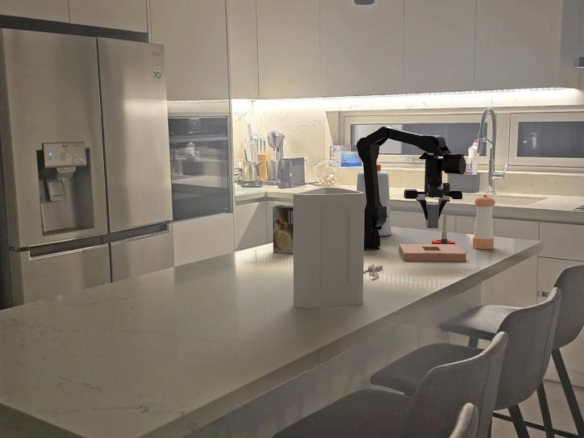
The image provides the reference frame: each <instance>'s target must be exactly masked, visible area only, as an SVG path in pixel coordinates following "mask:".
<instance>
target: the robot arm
mask: <svg viewBox="0 0 584 438" xmlns="http://www.w3.org/2000/svg"><path fill="white" fill-rule="evenodd" d="M388 140H392V141H396V142H399V143H403V144H408V145H411V146H415V147H417V148H418V149H420V150H421V151H424V152H422V155H420V156H419V157H418V159H419V160H424V183H423V184H424V187H423V190H424V191H420V190H419V191H418V190H417V189H416V188H405V189H404V191H403V198H404V199H405V200H415V201H416V202H419V205H420V207H421V210H422V212H423V216H424V220H425V221H426V220H427V207H426V203H427V199H426V197H427V198H430V199H433V198H438V200H437V201H438V202H437V203H438V204H439V219H438V221H439V220H440V217H441V215H442V212H443V211H444V210H443V209H444V208H445V206H446V204H447V203H449V202H451V200H450V198H451V199H452V200H463V198H464V197H463V195H464V194H463V192H462V190H460V189H456V188H453V189H452V188H451V184H450V182H443V173H444V174H446V175H454V176H455V175H456V176H457V175H460V176H463V175H465V173H466V171H467V161H466V158H465V154H464V153H452V152H451V150H450V149H449V147H448V145H447V142H446V140H445V137H444V136H443V135H439V134H420V133H415V132H411V131H407V130H403V129H398V128H395V127H392V126H390V125H389V126H380V127H379V128H377V130H375V131H373V132H372V133H370V134H368V135H366V136H364V137H360V138H359V139H358V140H357V141H356V150H357V155H358V157H359V159H360V161H361V163H362V167H363V168H362V169H363V170H362V171H364V181H365V192H366V206H365V209H364V250H380V247H381V236H380V234H379V231H378V230H381V229H382V226H383V225H384V224H385V222H386V218H387V217H388V216H387V207H386V206H384V207H383V206H382V204H381V203H380V196H379V185H378V174H377V164H378V163H377V161H378V158H379V155H380V147H381V146H383V145H384V144H385V143H386V142H387V141H388Z"/></svg>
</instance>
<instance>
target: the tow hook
mask: <svg viewBox="0 0 584 438" xmlns="http://www.w3.org/2000/svg"><path fill="white" fill-rule="evenodd" d="M442 218H443V219H442V232H441V238H440V239H432V240H431V244H456V241H454V240H452V239H451V240H450V239H448V238H447V235H448V231H447V220H448V219H447V218H448V217H447V210H443V217H442Z"/></svg>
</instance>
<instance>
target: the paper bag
mask: <svg viewBox="0 0 584 438" xmlns="http://www.w3.org/2000/svg"><path fill="white" fill-rule="evenodd" d="M292 197H293V199H292V200H293V203H292V206H293V255H292V256H293V257H292V259H293V263H292V264H293V266H292V267H293V269H292V271H293V272H292V273H293V276H292V277H293V280H292V282H293V283H292V284H293V288H292V289H293V292H292V293H293V298H292V300H293V307H297V308H303V309H304V308H305V309H318V308H319V309H320V308H331V307H332V308H334V307H335V308H336V307H352V306H360V305H362V304H363V303H364V274H363V273H364V270H365V269H364V262H365V261H364V260H365V258H364V257H365V249H364V205H365V192H361V191H356V189H349V188H344V187H336V186H334V187H331V186H322V187H321V186H320V187H316V188H311V189H309V190H304V191H299V192H295V193H293V195H292Z"/></svg>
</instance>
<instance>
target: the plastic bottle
mask: <svg viewBox="0 0 584 438" xmlns="http://www.w3.org/2000/svg"><path fill="white" fill-rule="evenodd" d="M377 174H378V185H379V196H380V203H381V204H382V206H383V207H384V206H386V207H387V216H388V217H387V218H386V222H385V224H384V225H383V226H382V229H381V230H378V231H379V234H380V237H387V236H388V237H389V236H390V235H391V234H392V222H391V203H390V202H391V201H390V200H391V199H390V183H389V181H390V180H389V173H388V172H387V171H386V170H382V165H381V164H379V163H377ZM355 191H361V192H365V181H364V170H361V171H359V172H358V174H357V178H356V189H355ZM365 206H366V192H365V205H364V209H365Z"/></svg>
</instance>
